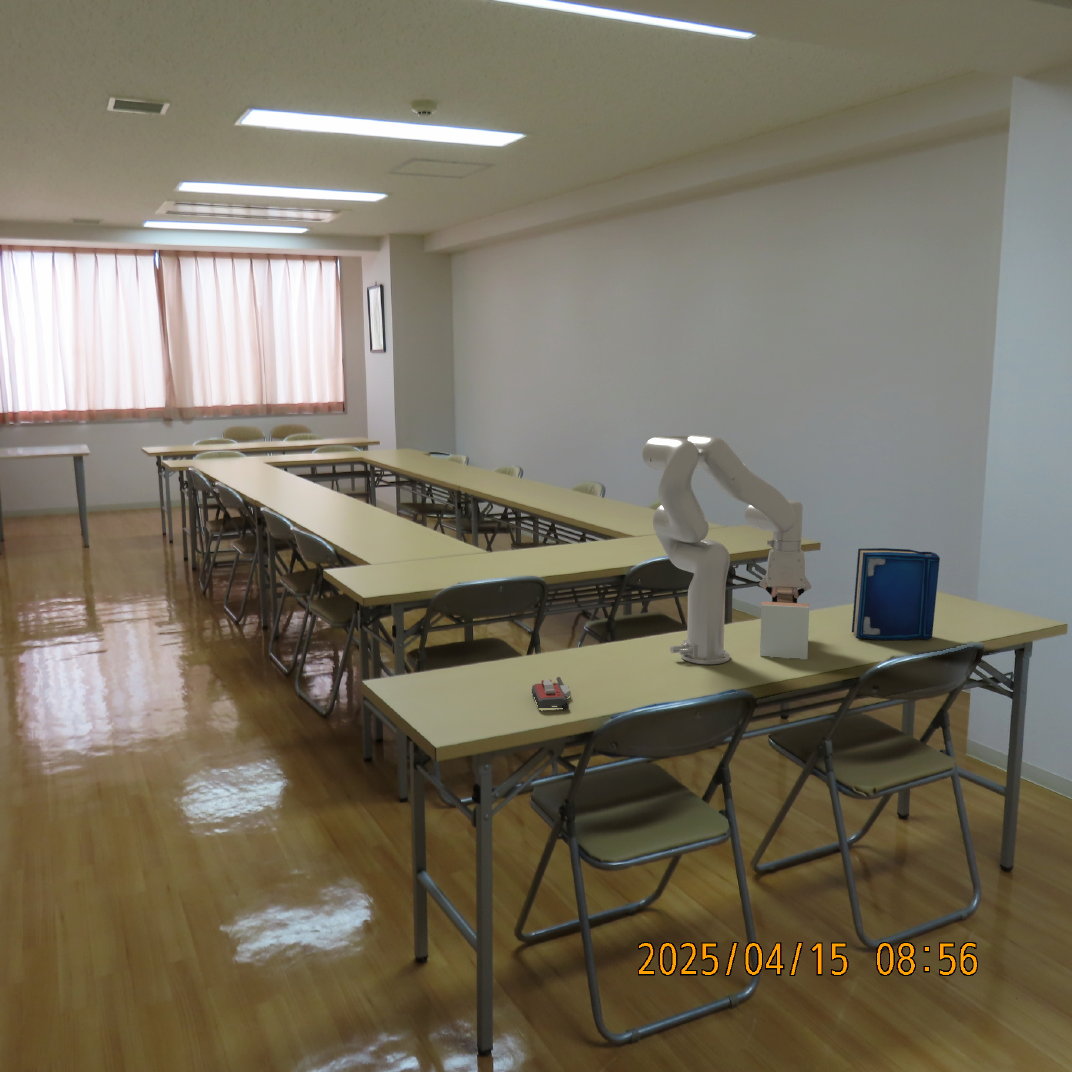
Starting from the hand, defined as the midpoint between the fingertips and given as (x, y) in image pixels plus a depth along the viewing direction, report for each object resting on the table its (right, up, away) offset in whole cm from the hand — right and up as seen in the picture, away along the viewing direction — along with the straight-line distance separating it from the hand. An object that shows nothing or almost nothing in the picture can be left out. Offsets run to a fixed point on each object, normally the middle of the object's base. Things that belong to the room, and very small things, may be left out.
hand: (784, 610), depth 255 cm
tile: (-3, -11, -10) cm, 16 cm away
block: (0, 0, 0) cm, 0 cm away
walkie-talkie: (-65, -18, -39) cm, 78 cm away
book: (+32, -8, +5) cm, 33 cm away
